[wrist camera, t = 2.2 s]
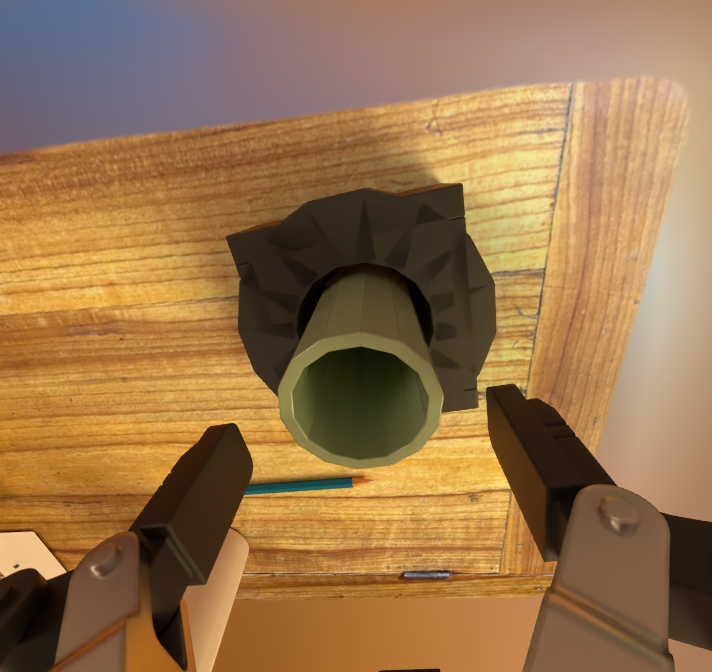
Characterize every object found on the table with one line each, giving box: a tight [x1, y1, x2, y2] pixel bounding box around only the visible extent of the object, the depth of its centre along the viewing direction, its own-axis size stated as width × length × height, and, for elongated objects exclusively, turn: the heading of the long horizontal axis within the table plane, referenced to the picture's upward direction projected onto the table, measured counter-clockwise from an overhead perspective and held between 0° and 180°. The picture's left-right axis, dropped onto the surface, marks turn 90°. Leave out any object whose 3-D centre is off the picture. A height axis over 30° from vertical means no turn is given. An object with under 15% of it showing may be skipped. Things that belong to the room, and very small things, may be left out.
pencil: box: [244, 477, 372, 495], centre depth 28 cm, size 1×17×1 cm, turn 99°
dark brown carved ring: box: [226, 183, 496, 413], centre depth 19 cm, size 13×13×4 cm
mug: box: [183, 528, 249, 672], centre depth 27 cm, size 10×7×12 cm, turn 104°
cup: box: [278, 262, 444, 469], centre depth 16 cm, size 6×6×11 cm
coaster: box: [0, 532, 66, 579], centre depth 35 cm, size 8×8×1 cm
